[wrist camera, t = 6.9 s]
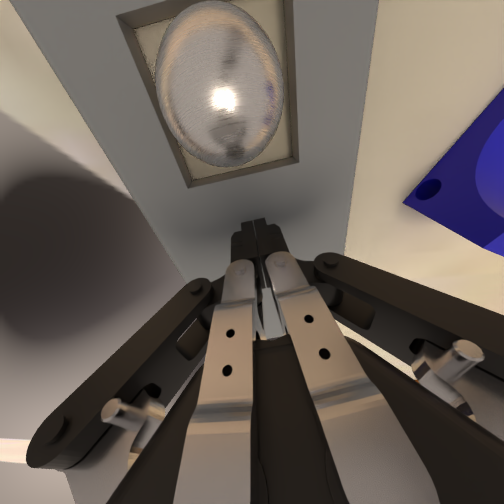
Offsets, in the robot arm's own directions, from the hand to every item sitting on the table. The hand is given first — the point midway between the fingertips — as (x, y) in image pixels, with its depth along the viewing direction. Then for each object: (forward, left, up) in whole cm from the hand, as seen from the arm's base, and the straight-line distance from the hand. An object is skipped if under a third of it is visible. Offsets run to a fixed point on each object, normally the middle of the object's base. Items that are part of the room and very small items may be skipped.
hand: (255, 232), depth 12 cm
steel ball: (-7, 0, 0) cm, 7 cm away
